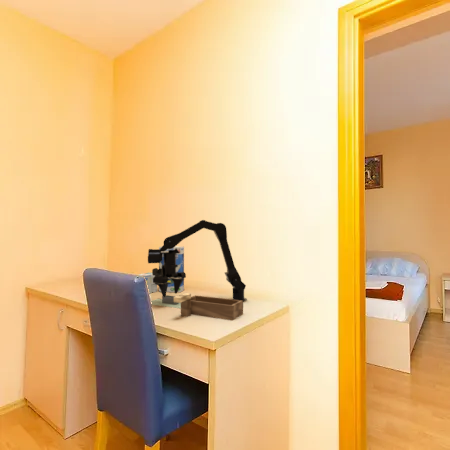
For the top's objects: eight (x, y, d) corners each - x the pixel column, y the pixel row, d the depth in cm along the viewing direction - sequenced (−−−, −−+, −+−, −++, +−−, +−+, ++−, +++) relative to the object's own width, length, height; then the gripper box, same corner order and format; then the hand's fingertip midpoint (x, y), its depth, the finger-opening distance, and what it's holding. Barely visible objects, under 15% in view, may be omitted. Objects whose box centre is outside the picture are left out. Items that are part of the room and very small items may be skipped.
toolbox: (195, 307, 144) (195, 293, 144) (243, 313, 133) (242, 298, 133) (176, 315, 132) (176, 300, 132) (228, 322, 121) (227, 306, 121)
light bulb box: (149, 290, 185) (149, 272, 185) (157, 291, 181) (157, 272, 181) (135, 293, 175) (135, 274, 176) (144, 295, 172) (144, 275, 172)
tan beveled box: (185, 297, 134) (185, 293, 134) (191, 298, 132) (190, 293, 132) (173, 302, 127) (173, 297, 127) (179, 302, 125) (179, 297, 125)
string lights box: (158, 292, 180) (158, 246, 180) (163, 289, 187) (162, 246, 187) (181, 292, 178) (180, 246, 178) (184, 289, 185) (184, 246, 186)
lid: (158, 300, 162) (157, 292, 162) (197, 305, 151) (197, 296, 151) (143, 304, 153) (143, 296, 153) (184, 310, 142) (184, 301, 142)
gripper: (168, 260, 164) (168, 290, 164) (143, 264, 148) (144, 297, 148) (186, 261, 159) (186, 292, 159) (162, 265, 142) (162, 299, 142)
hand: (170, 295), depth 152 cm, fingers open, 9 cm apart
